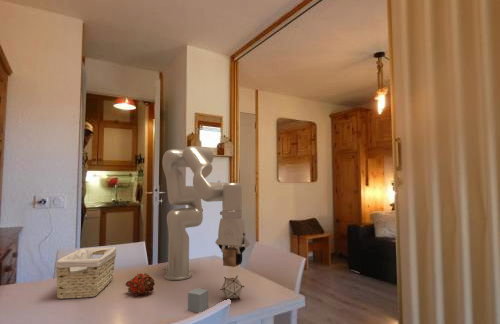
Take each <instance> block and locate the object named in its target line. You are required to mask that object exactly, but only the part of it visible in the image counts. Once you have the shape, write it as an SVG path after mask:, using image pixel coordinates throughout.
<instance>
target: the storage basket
mask: <svg viewBox="0 0 500 324" xmlns="http://www.w3.org/2000/svg"><path fill="white" fill-rule="evenodd" d="M93 255H96V256H97V255H101V256H98V257H96V258H93ZM116 257H117V247H115V246H112V247H109V246H108V247H91V248H90V247H89V248H87V247H86V248H82V249H81V248H80V249H78V250H75V251H73V252H71V253H70V254H67V255H65V256H63V257H61V258H60V259H58V260H57V261H56V264H55V267H56V269H55V273H56V297H57V299H59V300H60V299H62V300H63V299H65V300H66V299H76V298H77V299H80V298H89V297H90V298H93V297H96V296H97V295H99V293H100V292H101V291H102V290H104V288H105V287H107V286H108V284H110V283H111V281H112V280H113V279H114V277H113V276H114V275H113V274H114V272H115V271H114V270H115V262H116Z"/></svg>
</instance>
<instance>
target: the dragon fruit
mask: <svg viewBox="0 0 500 324" xmlns="http://www.w3.org/2000/svg"><path fill="white" fill-rule="evenodd" d="M155 285H156V283H155V280H154V278H153V277H152V276H151V275H149V273H146V272H145V273H136V275H135V276H134V277H133V278H131V279H129V280H128V281H126V283H125V287H128V288H127V292H129V293H134V295H135V296H136V297H137V296H140V295H143V296H145V295H147V294H148V293H149V292H153V291H154V290H155V288H154V286H155Z"/></svg>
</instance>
